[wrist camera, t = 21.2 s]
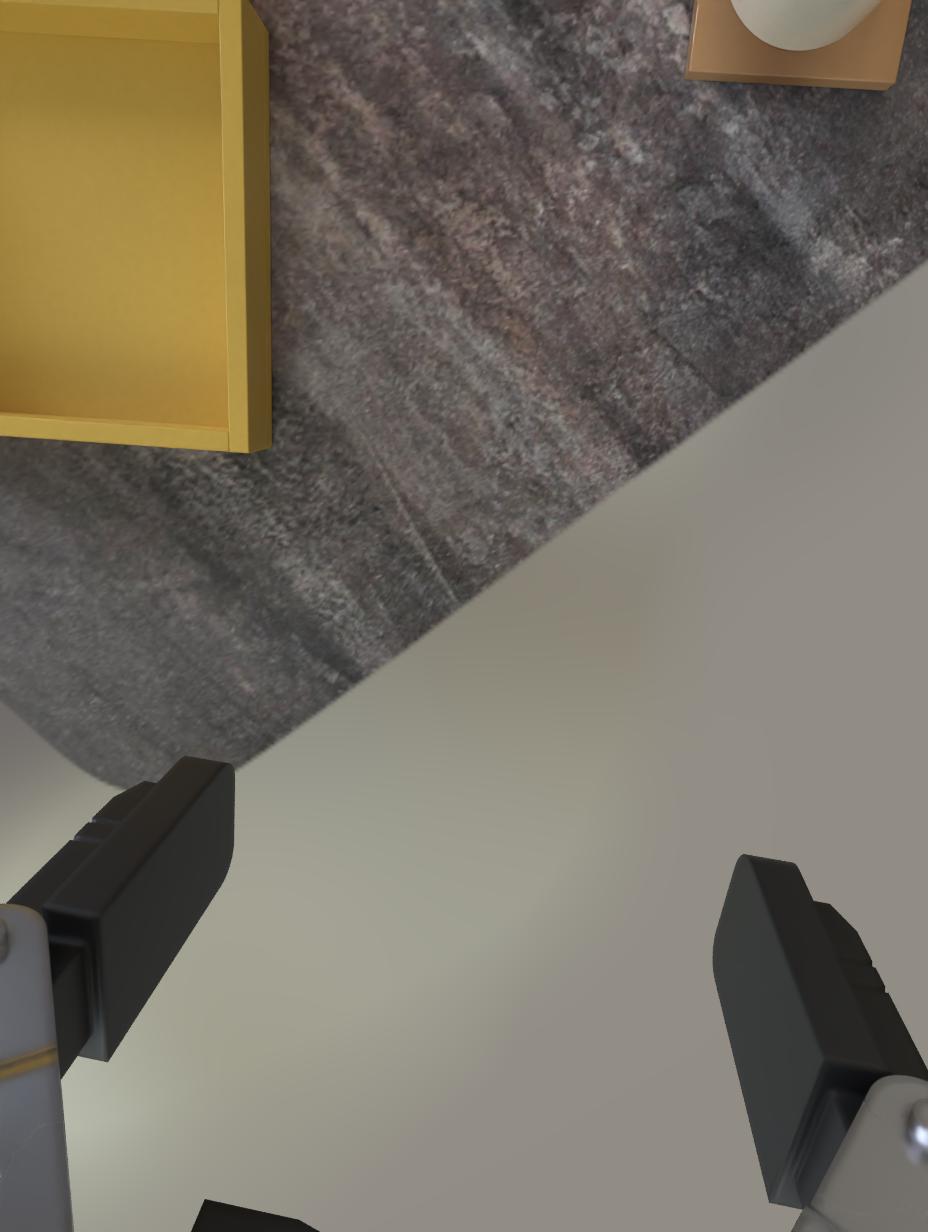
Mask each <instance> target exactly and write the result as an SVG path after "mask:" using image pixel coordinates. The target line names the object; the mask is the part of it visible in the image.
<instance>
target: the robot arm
mask: <svg viewBox="0 0 928 1232" xmlns="http://www.w3.org/2000/svg"><path fill="white" fill-rule="evenodd" d="M234 803H235V772H234V768H233V766H232V765H231V764H229V763H224V762H218V761H212V760H206V759H200V758H195V757H189V756H184V757H182V758H181V759H180V760H179V761H178V762H177V763H176V764H175V765H174V766H173V767H172V768H171V769H170V770H169V771H168V772H167V773H166V775H165V776H164V777H163V778H162V779H161V780H160V781H159V782H158V783H152V782H147V781H144V782H142V783H140V784H138V785H136V786H134V787H132V788H130V789H128V790H126V791H124V792H122V793H121V794H119V795H117V796H115V797H113V798H112V799H111V800H110V801H109V802H108V803H107V804H106V805H105V806H104V807H103V808H102V809H101V810H100V811H99V812H98V813H97V814H96V815H95V816H94V817H93V818H92V822H91V823H89V822H88V823H87V824H86V825H85V826H84V827H83V828H82V829H81V830H80V831H79V832H78V833H77V834H76V835H75V837H74V840H70V841H69V842H68V843H67V844H66V845H65V846H64V847H63V848H62V849H61V850H60V851H59V852H58V853H57V854H56V855H54V857H52V858H51V859H50V860H49V861H48V862H47V863H46V864H45V865H44V866H43V867H42V868H41V869H40V870H39V871H38V872H37V873H36V874H35V875H34V876H33V877H32V878H31V879H30V880H29V881H28V882H27V883H26V884H25V885H24V886H23V887H22V888H21V889H20V890H19V891H18V892H17V893H16V894H15V895H14V896H13V897H12V898H11V899H10V900H9V901H8V902H7V903H6V904H0V1232H74V1226H73V1215H72V1203H71V1192H70V1180H69V1169H68V1158H67V1146H66V1134H65V1123H64V1113H63V1112H64V1111H63V1100H62V1090H61V1079H62V1077H63V1076H64V1075H65V1073H66V1071H67V1070H68V1069H69V1067H70V1066H71V1064H72V1063H73V1062H74V1060H75V1059H76V1057H77V1056H81V1057H85V1058H90V1059H95V1060H100V1061H104V1062H108V1061H109V1060H110V1058H111V1057H112V1055H113V1053H114V1052H115V1050H116V1049H117V1047H118V1046H119V1044H120V1042H121V1041H122V1039H123V1038H124V1036H125V1035H126V1033H127V1032H128V1030H129V1028H130V1027H131V1025H132V1023H133V1022H134V1021H135V1019H136V1018H137V1016H138V1015H139V1013H140V1011H141V1010H142V1008H143V1007H144V1005H145V1004H146V1002H147V1000H148V998H149V997H150V996H151V994H152V993H153V991H154V990H155V988H156V986H157V985H158V983H159V982H160V980H161V979H162V977H163V976H164V974H165V972H166V971H167V969H168V968H169V966H170V965H171V963H172V962H173V960H174V958H175V957H176V955H177V954H178V952H179V951H180V949H181V948H182V946H183V944H184V943H185V941H186V940H187V938H188V936H189V935H190V934H191V932H192V930H193V929H194V927H195V926H196V924H197V923H198V921H199V919H200V918H201V916H202V915H203V913H204V912H205V910H206V909H207V907H208V905H209V904H210V902H211V901H212V899H213V898H214V896H215V895H216V893H217V891H218V890H219V888H220V887H221V885H222V883H223V882H224V879H225V877H226V875H227V872H228V870H229V867H230V863H231V859H232V855H233V847H234V806H235V804H234ZM713 972H714V978H715V983H716V986H717V991H718V995H719V999H720V1003H721V1007H722V1011H723V1015H724V1019H725V1024H726V1028H727V1032H728V1036H729V1040H730V1044H731V1048H732V1052H733V1056H734V1060H735V1065H736V1069H737V1072H738V1077H739V1080H740V1085H741V1089H742V1093H743V1097H744V1101H745V1105H746V1109H747V1114H748V1118H749V1122H750V1126H751V1130H752V1134H753V1138H754V1142H755V1146H756V1151H757V1155H758V1159H759V1162H760V1167H761V1171H762V1175H763V1179H764V1183H765V1187H766V1192H767V1196H768V1200H769V1203H774V1204H778V1205H783V1206H788V1207H793V1208H797V1209H802V1213H801V1214H800V1216H799V1218H798V1220H797V1221H796V1223H795V1225H794V1227H793V1229H792V1231H791V1232H928V1070H927V1067H926V1065H925V1064H924V1062H923V1060H922V1058H921V1056H920V1054H919V1052H918V1050H917V1048H916V1046H915V1044H914V1042H913V1040H912V1038H911V1036H910V1034H909V1032H908V1030H907V1028H906V1026H905V1024H904V1022H903V1020H902V1018H901V1017H900V1015H899V1013H898V1011H897V1009H896V1007H895V1005H894V1003H893V1001H892V999H891V997H890V995H889V993H885V985H884V984H883V981H882V980H881V978H880V975H879V973H878V972H877V970H876V968H874V967H872V960H871V958H870V956H869V954H868V952H867V950H866V948H865V946H864V945H863V942H862V940H861V938H860V936H859V934H858V932H857V931H856V930H855V929H854V928H853V927H852V926H851V925H850V924H849V923H848V922H847V921H846V920H845V919H844V918H843V917H842V916H841V915H840V914H839V913H838V912H837V911H836V910H835V909H834V908H833V907H832V906H831V905H830V904H828V903H822V902H816V901H813V899H812V896H811V895H810V892H809V890H808V888H807V886H806V883H805V881H804V879H803V877H802V875H801V872H800V870H799V869H798V867H797V865H796V864H794V863H792V862H786V861H781V860H775V859H769V858H763V857H757V856H752V855H746V854H743V855H741V856H740V857H739V859H738V860H737V863H736V865H735V869H734V872H733V875H732V878H731V882H730V885H729V889H728V892H727V896H726V899H725V902H724V906H723V909H722V913H721V917H720V919H719V923H718V926H717V930H716V934H715V938H714V945H713ZM191 1232H319V1231H318V1230H316V1229H314V1228H312V1227H311V1226H309V1225H307V1224H305V1223H303V1222H302V1221H300V1220H298V1219H293V1218H288V1217H284V1216H279V1215H275V1214H270V1213H266V1212H261V1211H257V1210H252V1209H247V1208H243V1207H238V1206H234V1205H229V1204H225V1203H220V1202H215V1201H211V1200H207V1199H205V1200H204V1202H203V1205H202V1207H201V1210H200V1212H199V1214H198V1216H197V1219H196V1221H195V1224H194V1226H193V1228H192V1231H191Z"/></svg>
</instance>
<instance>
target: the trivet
mask: <svg viewBox="0 0 928 1232" xmlns="http://www.w3.org/2000/svg"><path fill="white" fill-rule="evenodd" d="M911 2H912V0H883V1H882V2H881V3H880V4H879V5H878V6H877V7H876V8H875V9H874V10H873V11H872V12H871V13H870V14H869V15H868V16H867V17H866V18H865V19H864V20H863V21H862V22H861V23H860V24H859V25H858V26H857V27H856V28H855V29H854V30H852V31H851V32H850V33H848V34H847V35H846V36H844V37H842V38H841V39H839V40H837V41H835V42H833V43H831V44H829V45H826V46H823V47H820V48H816V49H812V50H804V51H792V50H786V49H781V48H778V47H775V46H772V45H770V44H768V43H766V42H764V41H762V40H761V39H759V38H758V37H757V36H755V35H754V34H753V33H752V32H751V31H750V30H749V29H748V28H747V27H746V26H745V25H744V23H743V22H742V21H741V19H740V18H739V16H738V15H737V13H736V11H735V9H734V7H733V5H732V2H731V0H694V6H693V14H692V21H691V29H690V37H689V45H688V53H687V60H686V68H685V76H684V78H685V79H690V80H708V81H725V82H743V83H760V84H778V85H795V86H813V87H830V88H848V89H866V90H883V91H885V90H887V89H888V88H889V87H891V86H892V85H893V84H894V83H895V82H896V78H897V73H898V68H899V63H900V58H901V53H902V48H903V43H904V38H905V33H906V28H907V23H908V18H909V13H910V8H911Z"/></svg>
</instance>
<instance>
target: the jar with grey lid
mask: <svg viewBox="0 0 928 1232" xmlns="http://www.w3.org/2000/svg"><path fill="white" fill-rule="evenodd" d="M882 1H883V0H731V2H732V5H733V7H734V9H735V11H736V13H737V15H738V16H739V18H740V19H741V21H742V22H743V23H744V25H745V26H746V27H747V28H748V29H749V30H750V31H751V32H752V33H753V34H754V35H755V36H757V37H758V38H759V39H761V40H762V41H764V42H766V43H768V44H770V45H772V46H775V47H778V48H781V49H786V50H792V51H804V50H812V49H816V48H820V47H823V46H826V45H829V44H831V43H833V42H835V41H837V40H839V39H841V38H842V37H844V36H846V35H847V34H848V33H850V32H851V31H852V30H854V29H855V28H856V27H857V26H858V25H859V24H860V23H861V22H862V21H863V20H864V19H865V18H866V17H867V16H868V15H869V14H870V13H871V12H872V11H873V10H874V9H875V8H876V7H877V6H878V5H879V4H880V3H881V2H882Z"/></svg>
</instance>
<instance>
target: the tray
mask: <svg viewBox="0 0 928 1232" xmlns="http://www.w3.org/2000/svg"><path fill="white" fill-rule="evenodd" d="M0 436H11V437H26V438H40V439H54V440H68V441H82V442H97V443H111V444H125V445H139V446H153V447H167V448H182V449H196V450H210V451H224V452H229V451H230V452H238V453H251V452H255V451H259V450H264V449H267V448H271V447H272V371H271V247H270V122H269V33H268V31H267V29H266V27H265V26H264V24H263V22H262V20H261V19H260V17H259V16H258V14H257V13H256V11H255V9H254V8H253V6H252V5H251V3H250V2H249V0H0Z"/></svg>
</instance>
